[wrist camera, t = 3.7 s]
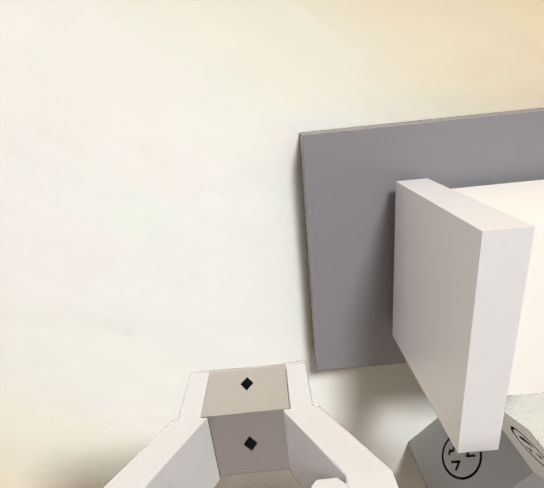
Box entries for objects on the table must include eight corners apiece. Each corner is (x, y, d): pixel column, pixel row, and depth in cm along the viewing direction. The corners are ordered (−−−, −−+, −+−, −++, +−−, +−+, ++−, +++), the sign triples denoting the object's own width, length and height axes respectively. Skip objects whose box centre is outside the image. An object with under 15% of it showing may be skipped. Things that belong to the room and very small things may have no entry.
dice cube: (463, 477, 23) (514, 573, 18) (407, 441, 22) (446, 533, 17) (528, 429, 22) (601, 519, 17) (472, 387, 20) (533, 472, 16)
